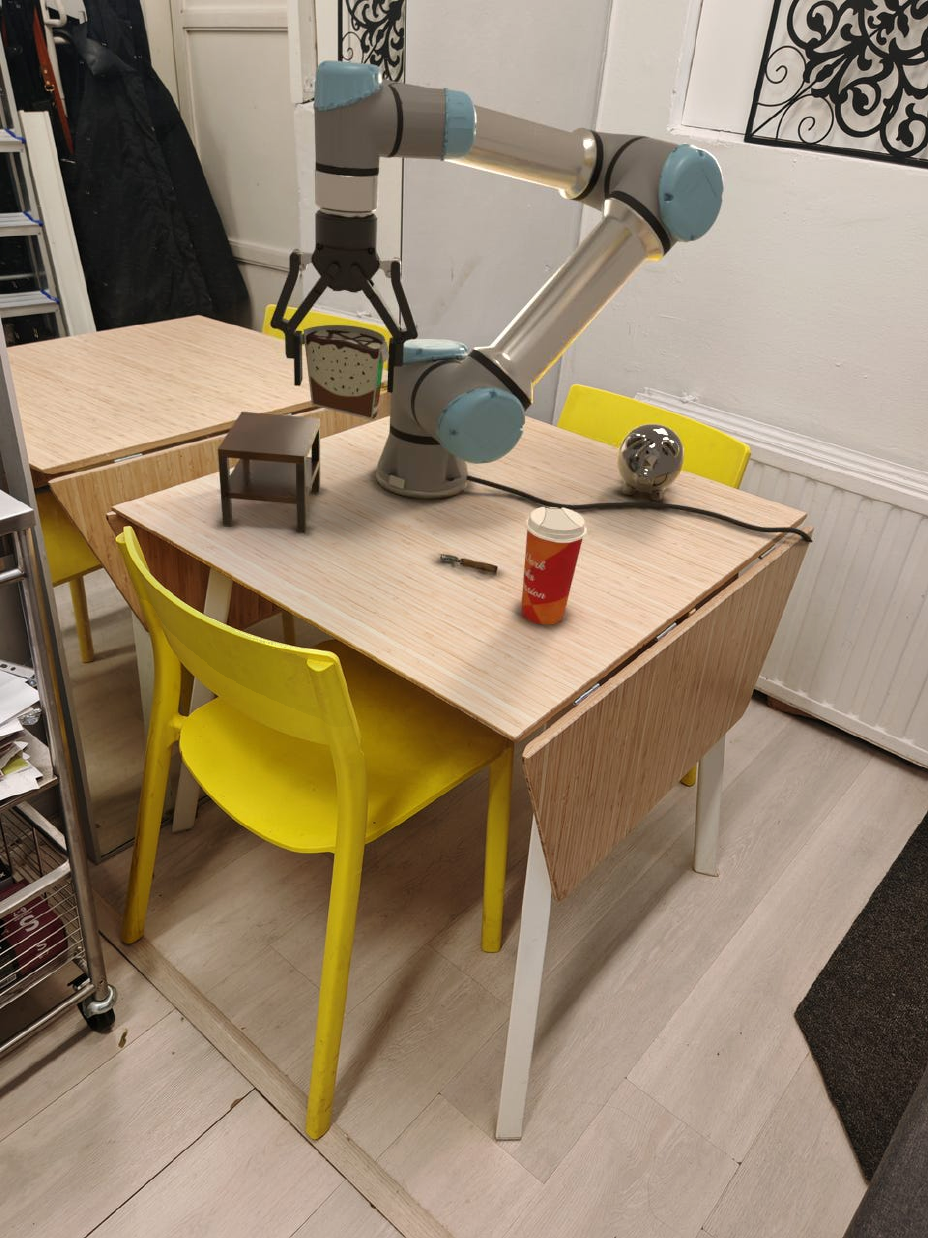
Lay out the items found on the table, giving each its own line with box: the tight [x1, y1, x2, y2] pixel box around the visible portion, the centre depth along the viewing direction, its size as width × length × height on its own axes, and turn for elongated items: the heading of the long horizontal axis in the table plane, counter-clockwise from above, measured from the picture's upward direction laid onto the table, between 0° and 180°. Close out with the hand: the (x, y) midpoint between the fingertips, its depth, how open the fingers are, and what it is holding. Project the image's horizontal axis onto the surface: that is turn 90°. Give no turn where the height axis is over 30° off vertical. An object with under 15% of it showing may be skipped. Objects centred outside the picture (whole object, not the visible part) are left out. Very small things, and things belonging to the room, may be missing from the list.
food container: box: [301, 324, 389, 421], centre depth 120 cm, size 12×6×10 cm, turn 66°
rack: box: [217, 411, 321, 534], centre depth 134 cm, size 12×15×12 cm
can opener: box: [437, 553, 499, 574], centre depth 127 cm, size 9×2×1 cm, turn 65°
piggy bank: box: [616, 423, 686, 502], centre depth 151 cm, size 11×15×12 cm
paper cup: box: [521, 506, 588, 626], centre depth 115 cm, size 8×8×14 cm
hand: (344, 385), depth 121 cm, fingers closed on food container, 12 cm apart
